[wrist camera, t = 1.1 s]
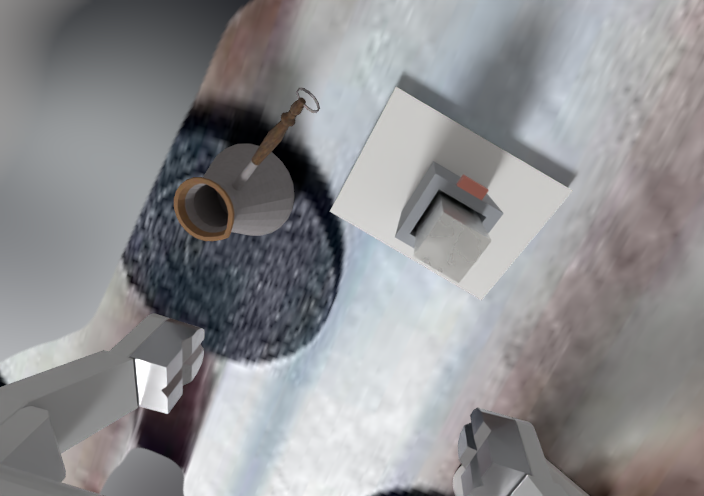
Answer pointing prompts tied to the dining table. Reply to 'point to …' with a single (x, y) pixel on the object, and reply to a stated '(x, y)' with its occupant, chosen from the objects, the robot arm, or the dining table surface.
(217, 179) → the coffee pot
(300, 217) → the dining table surface
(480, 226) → the column
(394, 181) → the stand
